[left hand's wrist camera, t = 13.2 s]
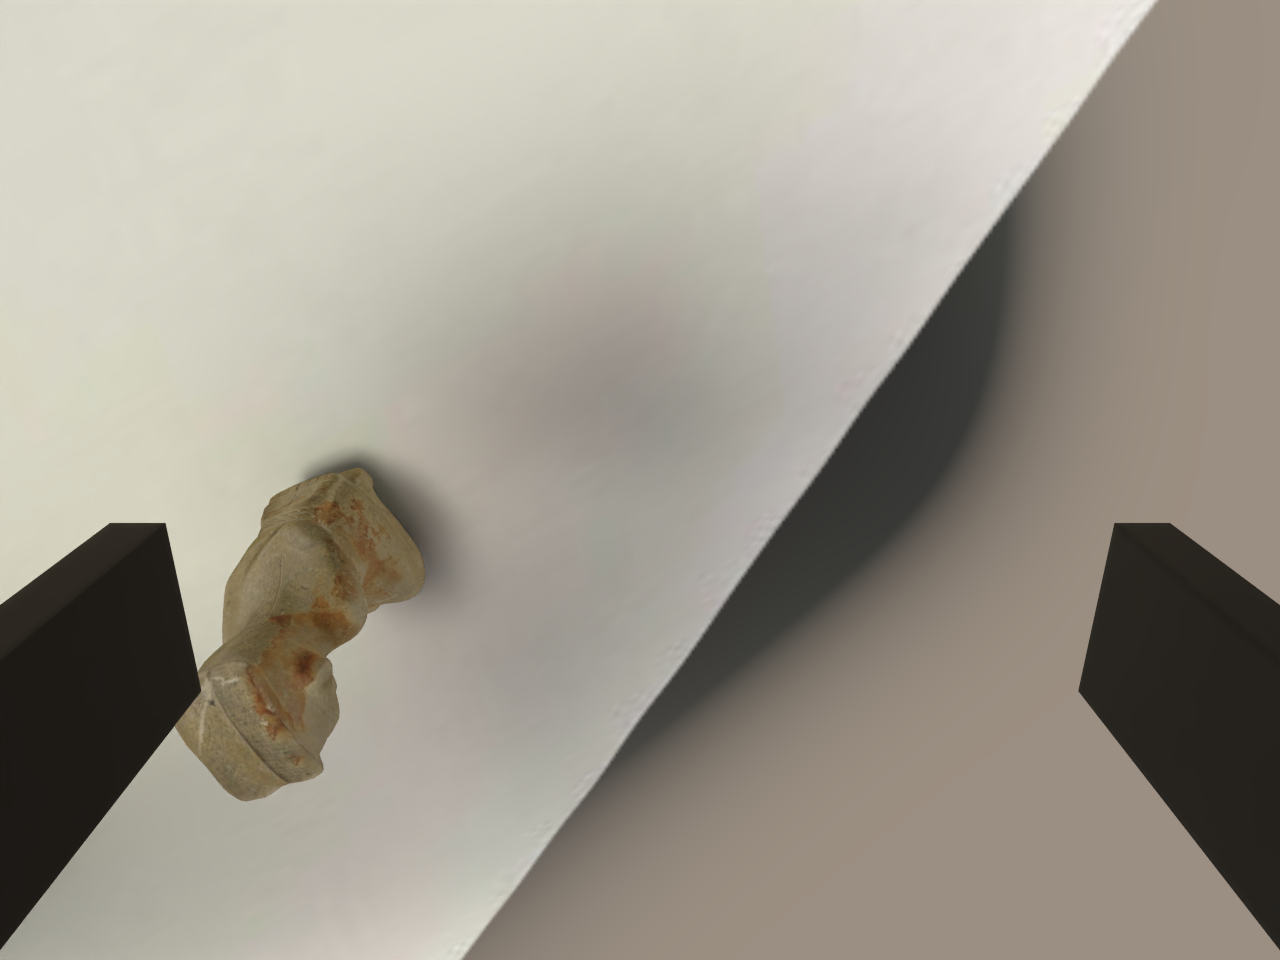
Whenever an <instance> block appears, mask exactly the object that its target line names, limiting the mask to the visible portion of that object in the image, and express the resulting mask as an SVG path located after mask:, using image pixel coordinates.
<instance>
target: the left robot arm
mask: <svg viewBox="0 0 1280 960" xmlns="http://www.w3.org/2000/svg"><path fill="white" fill-rule="evenodd" d="M200 692H201V686H200V681H199V677H198V672H197V667H196V663H195V658H194V653H193V649H192V644H191V639H190V635H189V630H188V626H187V621H186V616H185V612H184V607H183V602H182V598H181V593H180V588H179V584H178V579H177V574H176V570H175V565H174V561H173V556H172V551H171V547H170V542H169V537H168V533H167V528H166V523H110V524H108V525H107V526H106V527H104V528H103V529H102V530H100V531H99V532H97V533H96V534H95V535H93V536H92V537H91V538H89V539H88V540H87V541H85V542H84V543H83V544H81V545H80V546H79V547H77V548H76V549H75V550H73V551H72V552H71V553H69V554H68V555H67V556H65V557H64V558H63V559H61V560H60V561H59V562H57V563H56V564H55V565H53V566H52V567H51V568H49V569H48V570H47V571H45V572H44V573H43V574H41V575H40V576H39V577H37V578H36V579H35V580H33V581H32V582H30V583H29V584H28V585H26V586H25V587H24V588H22V589H21V590H20V591H18V592H17V593H16V594H14V595H13V596H12V597H10V598H9V599H8V600H6V601H5V602H4V603H2V604H1V605H0V950H1V948H2V947H3V946H4V944H5V943H6V942H7V941H8V939H9V938H10V937H11V935H12V934H13V933H14V932H15V930H16V929H17V928H18V926H19V925H20V924H21V923H22V921H23V920H24V919H25V917H26V916H27V915H28V914H29V912H30V911H31V910H32V908H33V907H34V906H35V905H36V903H37V902H38V901H39V899H40V898H41V897H42V896H43V894H44V893H45V892H46V890H47V889H48V888H49V887H50V885H51V884H52V883H53V881H54V880H55V879H56V878H57V876H58V875H59V874H60V872H61V871H62V870H63V869H64V867H65V866H66V865H67V863H68V862H69V861H70V860H71V858H72V857H73V856H74V854H75V853H76V852H77V851H78V849H79V848H80V847H81V845H82V844H83V843H84V842H85V840H86V839H87V838H88V836H89V835H90V834H91V833H92V831H93V830H94V829H95V827H96V826H97V825H98V824H99V822H100V821H101V820H102V818H103V817H104V816H105V815H106V813H107V812H108V811H109V809H110V808H111V807H112V806H113V804H114V803H115V802H116V800H117V799H118V798H119V797H120V795H121V794H122V793H123V791H124V790H125V789H126V788H127V786H128V785H129V784H130V782H131V781H132V780H133V779H134V777H135V776H136V775H137V773H138V772H139V771H140V770H141V768H142V767H143V766H144V764H145V763H146V762H147V761H148V759H149V758H150V757H151V755H152V754H153V753H154V752H155V750H156V749H157V748H158V746H159V745H160V744H161V743H162V741H163V740H164V739H165V737H166V736H167V735H168V734H169V732H170V731H171V730H172V728H173V727H174V726H175V725H176V723H177V722H178V721H179V719H180V718H181V717H182V716H183V714H184V713H185V712H186V710H187V709H188V708H189V707H190V705H191V704H192V703H193V701H194V700H195V699H196V698H197V696H198V695H199V694H200ZM1079 692H1080V694H1081V695H1082V696H1083V698H1084V699H1085V700H1086V701H1087V703H1088V704H1089V705H1090V707H1091V708H1092V709H1093V710H1094V712H1095V713H1096V714H1097V716H1098V717H1099V718H1100V719H1101V721H1102V722H1103V723H1104V725H1105V726H1106V727H1107V728H1108V730H1109V731H1110V732H1111V734H1112V735H1113V736H1114V737H1115V739H1116V740H1117V741H1118V743H1119V744H1120V745H1121V746H1122V748H1123V749H1124V750H1125V752H1126V753H1127V754H1128V755H1129V757H1130V758H1131V759H1132V761H1133V762H1134V763H1135V764H1136V766H1137V767H1138V768H1139V770H1140V771H1141V772H1142V773H1143V775H1144V776H1145V777H1146V779H1147V780H1148V781H1149V782H1150V784H1151V785H1152V786H1153V788H1154V789H1155V790H1156V791H1157V793H1158V794H1159V795H1160V797H1161V798H1162V799H1163V800H1164V802H1165V803H1166V804H1167V806H1168V807H1169V808H1170V809H1171V811H1172V812H1173V813H1174V815H1175V816H1176V817H1177V818H1178V820H1179V821H1180V822H1181V824H1182V825H1183V826H1184V827H1185V829H1186V830H1187V831H1188V833H1189V834H1190V835H1191V836H1192V838H1193V839H1194V840H1195V842H1196V843H1197V844H1198V845H1199V847H1200V848H1201V849H1202V851H1203V852H1204V853H1205V854H1206V856H1207V857H1208V858H1209V860H1210V861H1211V862H1212V863H1213V865H1214V866H1215V867H1216V869H1217V870H1218V871H1219V872H1220V874H1221V875H1222V876H1223V878H1224V879H1225V880H1226V881H1227V883H1228V884H1229V885H1230V887H1231V888H1232V889H1233V890H1234V892H1235V893H1236V894H1237V896H1238V897H1239V898H1240V899H1241V901H1242V902H1243V903H1244V905H1245V906H1246V907H1247V908H1248V910H1249V911H1250V912H1251V914H1252V915H1253V916H1254V917H1255V919H1256V920H1257V921H1258V923H1259V924H1260V925H1261V926H1262V928H1263V929H1264V930H1265V932H1266V933H1267V934H1268V935H1269V937H1270V938H1271V939H1272V941H1273V942H1274V943H1275V944H1276V946H1277V947H1278V948H1279V950H1280V605H1279V604H1278V603H1276V602H1275V601H1274V600H1272V599H1271V598H1270V597H1268V596H1267V595H1266V594H1264V593H1263V592H1262V591H1260V590H1259V589H1257V588H1256V587H1255V586H1254V585H1252V584H1251V583H1249V582H1248V581H1247V580H1245V579H1244V578H1243V577H1241V576H1240V575H1239V574H1237V573H1236V572H1235V571H1233V570H1232V569H1231V568H1229V567H1228V566H1227V565H1225V564H1224V563H1223V562H1221V561H1220V560H1219V559H1217V558H1216V557H1215V556H1213V555H1212V554H1211V553H1209V552H1208V551H1207V550H1205V549H1204V548H1203V547H1201V546H1200V545H1199V544H1197V543H1196V542H1195V541H1193V540H1192V539H1191V538H1189V537H1188V536H1187V535H1185V534H1184V533H1183V532H1181V531H1180V530H1178V529H1177V528H1176V527H1174V526H1173V525H1172V524H1170V523H1115V524H1114V528H1113V533H1112V537H1111V542H1110V547H1109V551H1108V556H1107V561H1106V565H1105V570H1104V574H1103V579H1102V584H1101V588H1100V593H1099V598H1098V602H1097V607H1096V612H1095V616H1094V621H1093V626H1092V630H1091V635H1090V639H1089V644H1088V649H1087V653H1086V658H1085V663H1084V667H1083V672H1082V677H1081V681H1080V686H1079Z"/></svg>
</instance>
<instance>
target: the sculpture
mask: <svg viewBox="0 0 1280 960" xmlns="http://www.w3.org/2000/svg"><path fill="white" fill-rule="evenodd" d="M373 486H374V482H373V479H372V478H371V477H370V476H369V474H368V473H367V472H366V471H364V470H363V469H361V468H354V469H350V470H346V471H343V472H340V473H338V474H337V473H328V474H324V475H321V476H318V477H315V478H312V479H309V480H306V481H304V482H301V483H299V484H296V485H294V486H292V487H290V488H288V489H286V490H284V491H282V492H280V493H278V494H276V495H275V496H273V497H272V498H271V499H270V502H269V505H268V506H267V507H266V508H265V509H264V512H263V516H262V518H261V530H260V532H259V535H258V537H257V538H256V539H255V541H254V542H253V543H252V544H251V545H250V547H249V548H248V549H247V551H246V552H245V554H244V556H243V557H242V559H241V560H240V562H239V563H238V565H237V567H236V568H235V570H234V571H233V573H232V574H231V576H230V578H229V580H228V582H227V584H226V588H225V595H224V608H223V627H222V633H223V645H222V646H221V647H220V648H219V649H218V650H216V651H215V652H214V653H213V654H212V655H211V656H210V657H209V658H208V659H207V660H206V661H205V662H204V664H203V665H202V667H201V668H200V670H199V671H198V677H199V681H200V686H201V692H200V694H199V695H198V696H197V698H196V699H195V700H194V701H193V703H192V704H191V705H190V707H189V708H188V709H187V710H186V712H185V713H184V714H183V716H182V717H181V718H180V719H179V721H178V722H177V723H176V725H175V728H176V729H177V731H178V732H179V734H180V736H181V737H182V739H183V740H184V742H185V744H186V745H187V746H188V748H189V749H190V750H191V751H192V752H193V753H194V754H195V755H196V756H197V757H198V758H199V759H200V761H201V762H202V763H203V764H204V765H205V766H206V767H207V768H208V770H209V771H210V772H211V773H212V774H213V776H214V777H215V778H216V779H217V781H218V782H219V783H220V784H221V786H222V787H223V788H224V789H225V790H226V791H227V792H228V793H230V794H231V795H233V796H234V797H236V798H237V799H239V800H241V801H250V800H255V799H260V798H265V797H267V796H269V795H270V794H272V793H273V792H275V791H276V790H278V789H279V788H280V787H282V786H284V785H286V784H289V783H295V782H302V781H305V780H309V779H312V778H315V777H316V776H318V775H319V774H321V773H322V772H323V770H324V769H323V763H322V760H321V758H320V754H319V753H320V752H321V750H322V748H323V746H324V744H325V742H326V740H327V738H328V737H329V735H330V734H331V732H332V731H333V729H334V727H335V725H336V723H337V722H338V719H339V703H338V699H337V695H336V688H337V685H336V681H335V679H334V677H333V674H332V664H331V661H330V660H329V659H328V658H326V656H327V655H328V654H329V653H330V652H331V651H332V650H334V649H336V648H337V647H339V646H340V645H342V644H344V643H346V642H348V641H349V640H351V639H352V638H353V637H355V636H356V635H357V634H358V633H359V631H360V630H361V629H362V627H363V625H364V623H365V621H366V617H367V614H368V613H370V612H372V611H375V610H376V609H377V608H378V607H379V606H380V605H381V604H385V603H394V602H402V601H405V600H408V599H410V598H412V597H414V596H415V595H416V594H417V593H418V592H419V591H420V589H421V588H422V586H423V584H424V580H425V568H424V562H423V559H422V556H421V554H420V552H419V550H418V548H417V546H416V544H415V543H414V542H413V540H412V539H411V537H410V536H409V534H408V533H407V532H406V531H405V529H404V528H403V527H402V525H401V524H400V523H399V522H398V520H397V519H396V518H395V517H394V516H393V515H392V513H391V512H390V511H389V510H388V509H387V508H386V507H385V506H384V504H383V503H382V502H381V501H380V500H379V498H378V496H377V495H376V493H375V491H374V489H373Z"/></svg>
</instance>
